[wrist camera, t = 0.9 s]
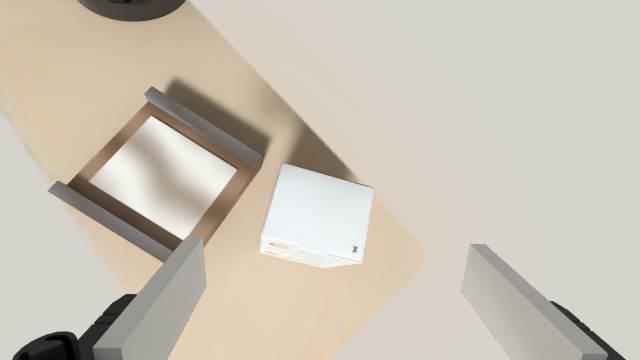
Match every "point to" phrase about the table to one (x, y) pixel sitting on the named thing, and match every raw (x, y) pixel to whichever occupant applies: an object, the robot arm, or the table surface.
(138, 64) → the table surface
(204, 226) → the tray
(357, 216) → the small box
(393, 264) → the table surface
